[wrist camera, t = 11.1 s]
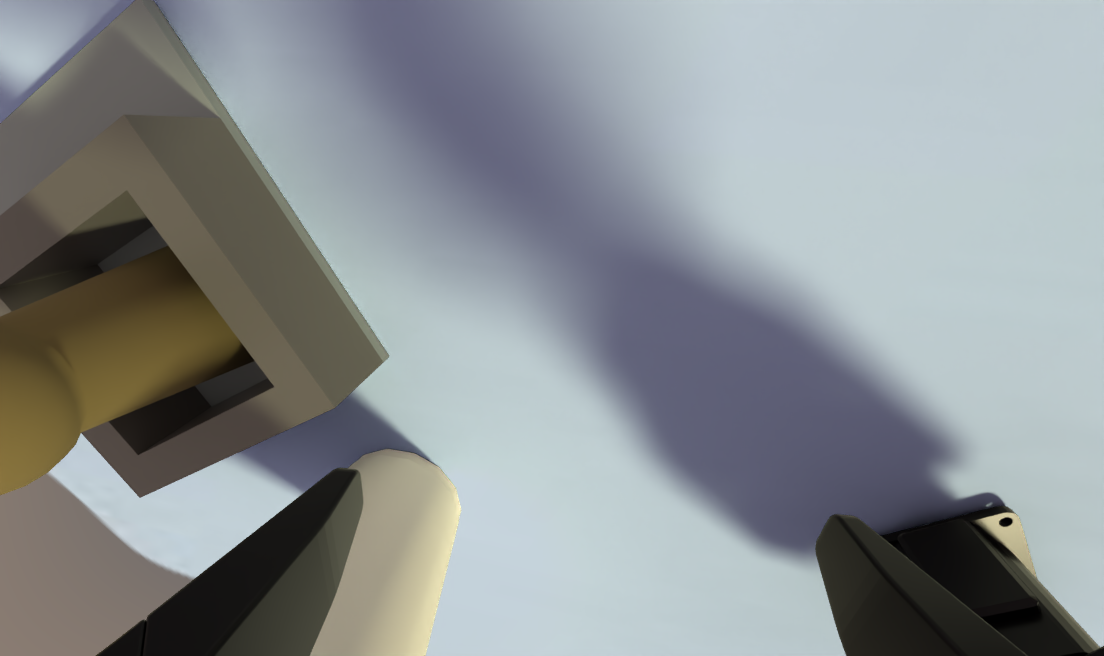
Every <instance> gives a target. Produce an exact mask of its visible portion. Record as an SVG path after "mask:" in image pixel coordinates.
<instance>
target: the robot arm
mask: <svg viewBox="0 0 1104 656" xmlns="http://www.w3.org/2000/svg"><path fill="white" fill-rule="evenodd" d="M362 509H363V491H362V482H361V474H360V472H359V471H358V470H356V469H349V468H336V469H334V470H333V471H331V472H330V473H329V474H328V475H326V476H325V477H324V478H322V479H321V480H320V481H319V482H317V483H316V484H315V485H313V486H312V487H311V488H310V489H308V490H307V491H306V492H305V493H303V494H302V495H301V496H299V497H298V498H297V499H296V500H294V501H293V502H292V503H291V504H289V505H288V506H287V507H285V508H284V509H283V510H282V511H280V512H279V513H278V514H277V515H275V516H274V517H273V518H271V519H270V520H269V521H268V522H266V523H265V524H264V525H263V526H261V527H260V528H259V529H257V530H256V531H255V532H254V533H252V534H251V535H250V536H249V537H247V538H246V539H245V540H243V541H242V542H241V543H240V544H238V545H237V546H236V547H235V548H233V549H232V550H231V551H229V552H228V553H227V554H226V555H224V556H223V557H222V558H221V559H219V560H218V561H217V562H215V563H214V564H213V565H212V566H210V567H209V568H208V569H207V570H205V571H204V572H203V573H201V574H200V575H199V576H198V577H196V578H195V579H194V580H192V581H191V582H190V583H189V584H187V585H186V586H185V587H184V588H182V589H181V590H180V591H178V593H176V594H175V595H173V596H172V597H171V598H170V599H168V600H167V601H166V602H164V603H163V604H162V605H161V606H160V607H158V608H157V609H156V610H154V611H153V612H152V613H150V614H149V615H148V617H147V621H146V620H142V621H140V622H139V623H138V624H136V625H135V626H134V627H132V628H131V629H130V630H129V631H127V632H126V633H125V634H123V635H122V636H121V637H120V638H118V639H117V640H116V641H115V642H113V643H112V644H111V645H109V646H108V647H107V648H105V649H104V650H103V651H101V652H100V653H99V654H97V655H96V656H310V654H311V652H312V649H313V647H314V645H315V643H316V640H317V638H318V636H319V633H320V631H321V629H322V626H323V624H324V622H325V619H326V617H327V615H328V612H329V610H330V608H331V605H332V603H333V600H334V598H335V595H336V593H337V590H338V587H339V584H340V581H341V578H342V574H343V571H344V568H345V565H346V562H347V558H348V555H349V552H350V549H351V546H352V542H353V539H354V536H355V533H356V530H357V526H358V523H359V520H360V517H361V514H362ZM1004 517H1005V518H1004ZM1002 518H1004V519H1002ZM815 550H816V556H817V560H818V563H819V567H820V571H821V574H822V578H823V581H824V585H825V588H826V592H827V596H828V599H829V603H830V606H831V610H832V613H833V617H834V621H835V624H836V627H837V630H838V634H839V637H840V639H841V642H842V645H843V648H844V651H845V653H846V656H1104V646H1103V647H1101V648H1100V647H1099V646H1098V644H1097V643H1096V642H1095V641H1094V640H1093V639H1092V638H1091V637H1090V636H1089V635H1088V634H1087V633H1086V631H1085V630H1084V629H1083V628H1082V627H1081V626H1080V625H1079V624H1078V623H1077V622H1076V621H1075V620H1074V618H1073V617H1072V616H1071V615H1070V614H1069V613H1068V612H1067V611H1066V610H1065V609H1064V608H1063V607H1062V605H1061V604H1060V603H1059V602H1058V601H1057V600H1056V599H1055V598H1054V597H1053V596H1052V595H1051V594H1050V592H1049V591H1048V590H1047V589H1046V588H1045V587H1044V586H1043V585H1042V584H1041V583H1040V582H1039V581H1038V579H1037V577H1036V573H1035V570H1034V566H1033V563H1032V559H1031V556H1030V553H1029V549H1028V546H1027V542H1026V539H1025V535H1024V532H1023V529H1022V525H1021V522H1020V518H1019V517H1018V515H1017V514H1016V513H1014V512H1013V511H1012V510H1011V509H1010V508H1008V507H1006V506H997V507H993V508H989V509H985V510H981V511H977V512H973V513H969V514H965V515H961V516H958V517H954V518H950V519H946V520H942V521H938V522H934V523H930V524H926V525H922V526H918V527H915V528H911V529H907V530H903V531H899V532H895V533H891V534H887V535H883V536H880V535H879V534H877V533H876V532H875V531H874V530H872V529H871V528H870V527H869V526H867V525H866V524H865V523H864V522H863V521H861V520H860V519H859V518H857V517H855V516H851V515H841V514H834V515H832V516H830V518H829V519H828V521H827V523H826V524H825V526H824V528H823V530H822V532H821V534H820V535H819V537H818V539H817V541H816V547H815Z"/></svg>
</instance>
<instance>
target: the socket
mask: <svg viewBox="0 0 1104 656" xmlns="http://www.w3.org/2000/svg"><path fill="white" fill-rule="evenodd" d="M166 246H169V247H170V248H171V250H172V251H173V252H174V254H175V255H176V256H177V258H178V259H179V260H180V262H181V263H182V264H183V266H184V267H185V268H186V270H187V271H188V272H189V274H190V275H191V276H192V278H193V279H194V280H195V282H196V283H197V284H198V286H199V287H200V288H201V290H202V291H203V292H204V294H205V295H206V296H207V298H208V299H209V300H210V302H211V303H212V304H213V306H214V307H215V308H216V310H217V311H218V312H219V314H220V315H221V316H222V318H223V319H224V320H225V322H226V323H227V324H228V326H229V327H230V328H231V330H232V331H233V332H234V334H235V335H236V336H237V338H238V339H239V340H240V342H241V343H242V344H243V346H244V347H245V348H246V350H247V351H248V352H249V354H250V355H251V356H252V358H253V359H254V360H255V361H253V362H251V363H249V364H246V365H244V366H241V367H239V368H236V369H234V370H232V371H229V372H227V373H224V374H222V375H219V376H217V377H215V378H212V379H210V380H207V381H205V382H202V383H200V384H198V385H195V386H193V387H190V388H188V389H185V390H183V391H181V392H178V393H176V394H173V395H171V396H168V397H166V398H164V399H161V400H159V401H156V402H154V403H152V404H149V405H147V406H144V407H142V408H139V409H137V410H135V411H132V412H130V413H127V414H125V415H122V416H120V417H118V418H115V419H113V420H110V421H108V422H105V423H103V424H101V425H98V426H96V427H93V428H91V429H88V430H86V431H84V432H81V433H82V434H83V435H84V437H85V438H86V439H87V440H88V441H89V442H90V443H91V444H92V445H93V447H94V448H95V449H96V450H97V451H98V452H99V453H100V454H101V455H102V456H103V458H104V459H105V460H106V461H107V462H108V463H109V464H110V465H111V466H112V468H113V469H114V470H115V471H116V472H117V473H118V474H119V475H120V476H121V478H122V479H123V480H124V481H125V482H126V483H127V484H128V485H129V486H130V488H131V489H132V490H133V491H134V492H135V493H136V494H137V495H138V496H139V497H140V498H141V497H143V496H145V495H147V494H149V493H151V492H154V491H156V490H158V489H160V488H162V487H164V486H167V485H169V484H171V483H173V482H175V481H177V480H180V479H182V478H184V477H186V476H188V475H190V474H193V473H195V472H197V471H199V470H201V469H203V468H206V467H208V466H210V465H212V464H214V463H216V462H219V461H221V460H223V459H225V458H227V457H230V456H232V455H234V454H236V453H238V452H240V451H243V450H245V449H247V448H249V447H251V446H253V445H256V444H258V443H260V442H262V441H264V440H266V439H269V438H271V437H273V436H275V435H277V434H279V433H282V432H284V431H286V430H288V429H290V428H292V427H295V426H297V425H299V424H301V423H303V422H305V421H308V420H310V419H312V418H314V417H316V416H318V415H321V414H323V413H325V412H327V411H329V410H331V409H334V408H335V407H336V406H338V405H339V404H340V403H341V402H342V401H343V400H344V399H345V398H346V397H347V396H348V395H349V394H350V393H351V392H352V391H353V390H355V389H356V388H357V387H358V386H359V385H360V384H361V383H362V382H363V381H364V380H365V379H366V378H367V377H368V376H369V375H370V374H372V373H373V372H374V371H375V370H376V369H377V368H378V367H379V366H380V365H381V364H382V363H383V362H384V361H385V360H386V359H387V358H389V355H388V354H387V352H386V351H385V349H384V348H383V346H382V345H381V343H380V342H379V340H378V339H377V337H376V336H375V334H374V333H373V331H372V330H371V328H370V327H369V325H368V324H367V322H366V321H365V319H364V318H363V316H362V315H361V313H360V311H359V310H358V308H357V307H356V305H355V304H354V302H353V301H352V299H351V298H350V296H349V295H348V293H347V292H346V290H345V289H344V287H343V286H342V284H341V283H340V281H339V280H338V278H337V277H336V275H335V274H334V272H333V271H332V269H331V268H330V266H329V265H328V263H327V262H326V260H325V259H324V257H323V256H322V254H321V253H320V251H319V250H318V248H317V247H316V245H315V244H314V242H313V240H312V239H311V237H310V236H309V234H308V233H307V231H306V230H305V228H304V227H303V225H302V224H301V222H300V221H299V219H298V218H297V216H296V215H295V213H294V212H293V210H292V209H291V207H290V206H289V204H288V203H287V201H286V200H285V198H284V197H283V195H282V194H281V192H280V191H279V189H278V188H277V186H276V185H275V183H274V182H273V180H272V179H271V177H270V176H269V174H268V173H267V171H266V170H265V168H264V166H263V165H262V163H261V162H260V160H259V159H258V157H257V156H256V154H255V153H254V151H253V150H252V148H251V147H250V145H249V144H248V142H247V141H246V139H245V138H244V136H243V135H242V133H241V132H240V130H239V129H238V127H237V126H236V124H235V123H234V121H233V120H232V118H231V117H230V115H229V114H228V112H227V111H226V109H225V108H224V106H223V105H222V103H221V102H220V100H219V99H218V97H217V96H216V94H215V92H214V91H213V89H212V88H211V86H210V85H209V83H208V82H207V80H206V79H205V77H204V76H203V74H202V73H201V71H200V70H199V68H198V67H197V65H196V64H195V62H194V61H193V59H192V58H191V56H190V55H189V53H188V52H187V50H186V49H185V47H184V46H183V44H182V43H181V41H180V40H179V38H178V37H177V35H176V34H175V32H174V31H173V29H172V28H171V26H170V25H169V23H168V21H167V20H166V18H165V17H164V15H163V14H162V12H161V11H160V9H159V8H158V6H157V5H156V3H155V2H154V1H152V0H135V1H134V2H133V3H132V4H131V5H130V6H129V7H128V8H126V9H125V10H124V11H123V12H122V13H121V14H120V15H119V16H118V17H117V18H116V19H114V20H113V21H112V22H111V23H110V24H109V25H108V26H107V27H106V28H105V29H103V30H102V31H101V32H100V33H99V34H98V35H97V36H96V37H95V38H94V39H93V40H91V41H90V42H89V43H88V44H87V45H86V46H85V47H84V48H83V49H82V50H80V51H79V52H78V53H77V54H76V55H75V56H74V57H73V58H72V59H71V60H70V61H68V62H67V63H66V64H65V65H64V66H63V67H62V68H61V69H60V70H59V71H57V72H56V73H55V74H54V75H53V76H52V77H51V78H50V79H49V80H48V81H47V82H45V83H44V84H43V85H42V86H41V87H40V88H39V89H38V90H37V91H36V92H34V93H33V94H32V95H31V96H30V97H29V98H28V99H27V100H26V101H25V102H24V103H22V104H21V105H20V106H19V107H18V108H17V109H16V110H15V111H14V112H13V113H11V114H10V115H9V116H8V117H7V118H6V119H5V120H4V121H3V122H2V123H1V124H0V316H3V315H5V314H7V313H10V312H12V311H15V310H17V309H19V308H22V307H24V306H26V305H29V304H31V303H33V302H36V301H38V300H41V299H43V298H45V297H48V296H50V295H52V294H55V293H57V292H59V291H62V290H64V289H67V288H69V287H71V286H74V285H76V284H78V283H81V282H83V281H85V280H88V279H90V278H93V277H95V276H97V275H100V274H102V273H104V272H107V271H109V270H111V269H114V268H116V267H119V266H121V265H123V264H126V263H128V262H130V261H133V260H135V259H137V258H140V257H142V256H145V255H147V254H149V253H152V252H154V251H156V250H159V249H161V248H163V247H166Z"/></svg>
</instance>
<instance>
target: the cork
mask: <svg viewBox="0 0 1104 656" xmlns="http://www.w3.org/2000/svg"><path fill="white" fill-rule="evenodd" d="M253 361H255V360H254V359H253V358H252V356H251V355H250V354H249V352H248V351H247V350H246V348H245V347H244V346H243V344H242V343H241V342H240V340H239V339H238V338H237V336H236V335H235V334H234V332H233V331H232V330H231V328H230V327H229V326H228V324H227V323H226V322H225V320H224V319H223V318H222V316H221V315H220V314H219V312H218V311H217V310H216V308H215V307H214V306H213V304H212V303H211V302H210V300H209V299H208V298H207V296H206V295H205V294H204V292H203V291H202V290H201V288H200V287H199V286H198V284H197V283H196V282H195V280H194V279H193V278H192V276H191V275H190V274H189V272H188V271H187V270H186V268H185V267H184V266H183V264H182V263H181V262H180V260H179V259H178V258H177V256H176V255H175V254H174V252H173V251H172V250H171V248H170V247H169V246H166V247H163V248H161V249H159V250H156V251H154V252H152V253H149V254H147V255H145V256H142V257H140V258H137V259H135V260H133V261H130V262H128V263H126V264H123V265H121V266H119V267H116V268H114V269H111V270H109V271H107V272H104V273H102V274H100V275H97V276H95V277H93V278H90V279H88V280H85V281H83V282H81V283H78V284H76V285H74V286H71V287H69V288H67V289H64V290H62V291H59V292H57V293H55V294H52V295H50V296H48V297H45V298H43V299H41V300H38V301H36V302H33V303H31V304H29V305H26V306H24V307H22V308H19V309H17V310H15V311H12V312H10V313H7V314H5V315H3V316H0V495H2V494H5V493H8V492H10V491H13V490H16V489H18V488H21V487H24V486H26V485H28V484H29V483H31V482H33V481H34V480H36V479H38V478H40V477H41V476H43V475H44V474H46V473H48V472H49V471H50V470H51V469H52V468H53V467H54V466H55V465H56V464H57V463H59V462H60V461H61V460H62V459H63V458H64V457H65V456H66V455H67V454H68V453H69V451H70V450H71V449H72V448H73V447H74V446H75V445H76V443H77V440H78V438H79V436H80V433H81V432H84V431H86V430H88V429H91V428H93V427H96V426H98V425H101V424H103V423H105V422H108V421H110V420H113V419H115V418H118V417H120V416H122V415H125V414H127V413H130V412H132V411H135V410H137V409H139V408H142V407H144V406H147V405H149V404H152V403H154V402H156V401H159V400H161V399H164V398H166V397H168V396H171V395H173V394H176V393H178V392H181V391H183V390H185V389H188V388H190V387H193V386H195V385H198V384H200V383H202V382H205V381H207V380H210V379H212V378H215V377H217V376H219V375H222V374H224V373H227V372H229V371H232V370H234V369H236V368H239V367H241V366H244V365H246V364H249V363H251V362H253Z"/></svg>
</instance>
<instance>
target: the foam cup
mask: <svg viewBox="0 0 1104 656" xmlns="http://www.w3.org/2000/svg"><path fill="white" fill-rule="evenodd" d="M349 469H356V470H358V471H359V472H360V474H361V482H362V491H363V509H362V514H361V517H360V520H359V523H358V526H357V530H356V533H355V536H354V539H353V542H352V546H351V549H350V552H349V555H348V558H347V562H346V565H345V568H344V571H343V574H342V578H341V581H340V584H339V587H338V590H337V593H336V595H335V598H334V600H333V603H332V605H331V608H330V610H329V612H328V615H327V617H326V619H325V622H324V624H323V626H322V629H321V631H320V633H319V636H318V638H317V640H316V643H315V645H314V647H313V649H312V652H311V654H310V656H425V655H426V651H427V647H428V643H429V639H430V635H431V631H432V627H433V623H434V619H435V615H436V611H437V607H438V603H439V599H440V595H441V591H442V587H443V583H444V579H445V575H446V571H447V567H448V563H449V559H450V555H451V551H452V547H453V543H454V539H455V535H456V531H457V527H458V523H459V516H460V513H461V507H460V503H459V499H458V495H457V491H456V488H455V486H454V485H453V484H452V483H451V481H450V480H449V479H448V478H447V476H446V475H445V474H444V473H443V472H442V470H441V469H440V468H439V467H438V466H436V465H434V464H432V463H431V462H429V461H427V460H425V459H424V458H422V457H420V456H418V455H417V454H415V453H410V452H404V451H398V450H392V449H384V450H380V451H377V452H373V453H369V454H365V455H363V456H362V457H361V458H360V459H359V460H358V461H356V462H354V463H353V464H352V465H351V466H350V467H349Z"/></svg>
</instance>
